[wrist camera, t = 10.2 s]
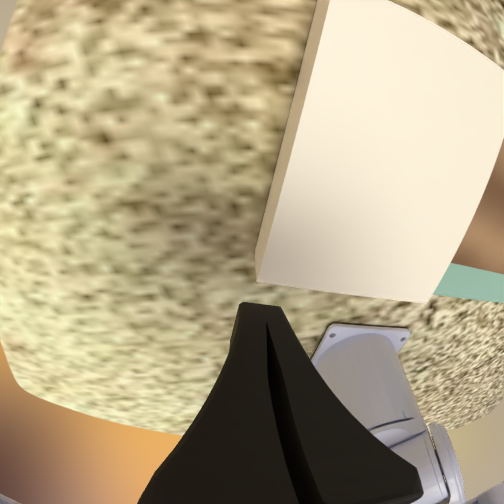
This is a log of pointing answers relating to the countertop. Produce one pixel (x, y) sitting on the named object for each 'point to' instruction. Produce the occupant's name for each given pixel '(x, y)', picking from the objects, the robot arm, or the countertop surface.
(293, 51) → the countertop surface
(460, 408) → the countertop surface
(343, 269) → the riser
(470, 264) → the walnut coaster
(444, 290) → the sage mat
